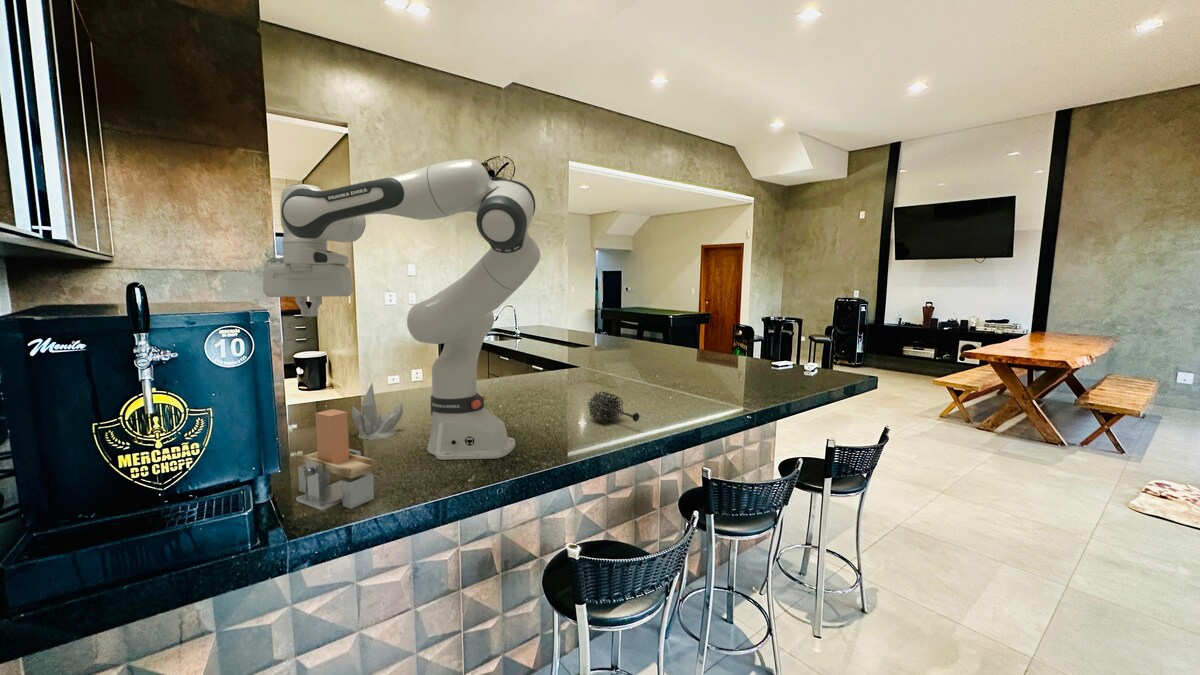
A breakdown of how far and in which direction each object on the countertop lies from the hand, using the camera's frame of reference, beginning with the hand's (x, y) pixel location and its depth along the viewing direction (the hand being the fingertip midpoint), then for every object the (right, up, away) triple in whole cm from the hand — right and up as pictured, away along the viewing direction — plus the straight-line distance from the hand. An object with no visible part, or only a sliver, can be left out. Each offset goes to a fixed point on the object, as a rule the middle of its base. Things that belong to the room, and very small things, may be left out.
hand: (309, 316), depth 112 cm
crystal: (+5, -33, +23) cm, 41 cm away
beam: (+15, -30, -17) cm, 38 cm away
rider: (+15, -30, -17) cm, 37 cm away
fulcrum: (+15, -37, -16) cm, 43 cm away
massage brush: (+72, -32, +36) cm, 87 cm away
